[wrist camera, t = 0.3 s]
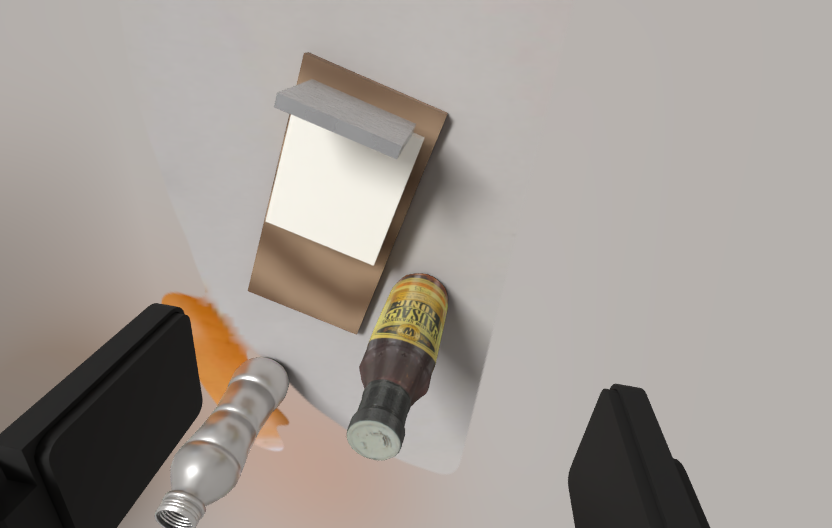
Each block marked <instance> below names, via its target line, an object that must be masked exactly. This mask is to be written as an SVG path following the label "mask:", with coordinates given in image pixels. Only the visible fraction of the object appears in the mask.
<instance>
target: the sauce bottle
mask: <svg viewBox="0 0 832 528" xmlns="http://www.w3.org/2000/svg"><path fill="white" fill-rule="evenodd" d="M447 309H448V297H447V293H446V290H445V287H444V286H443V285H442V284H441V283H440V282H439V281H438V280H437V279H435V278H434V277H433V276H430V275H428V274H422V273H418V274H417V273H416V274H410V275H406V276H405V277H403V278H402V279H401V280H399V281H398V283H397V284H396V285H395V286H394V287H393V289H392V290H391V292H390V295H389V297H388V299H387V301H386V304H385V306H384V308H383V310H382V312H381V315H380V317H379V319H378V322H377V324H376V326H375V328H374V331H373V333H372V336H371V338H370V341H369V343H368V347H367V350H366V352H365V355H364V357H363V360H362V362H361V364H360V366H359V369H360V374H361V380H362V383H363V385H364V388H365V390H364V392H363V395H362V400H361V403H360V405H359V408H358V411H357V412H356V413H355V414H354V416H353V417H352V419H351V421H350V424H349V427H348V430H347V440H348V443H349V444H350V445H351V447H352V449H354V450H355V451H356V452H357V453H358V454H360V455H362V456H364V457H366V458H369V459H373V460H387V459H389V458H392V457H394V456H396V455H397V454H398V453H399V451H400V449H401V447H402V443H403V440H404V436H405V428H404V426H405V421H406V417H407V414H408V412H409V410H410V407H411V406H412V405H413V404H414V403H415V402H416V401H417V400H418V399H419V398H421V397H422V396H424V395H425V394H426V393H427V391H428V388H429V384H430V379H431V375H432V372H433V370H434V367H435V364H436V359H437V355H438V350H439V346H440V341H441V336H442V332H443V328H444V323H445V319H446V314H447Z"/></svg>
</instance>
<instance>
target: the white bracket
mask: <svg viewBox="0 0 832 528" xmlns="http://www.w3.org/2000/svg"><path fill="white" fill-rule="evenodd" d="M274 107H275V108H277V109H280V110H282V111H284V112H287V113H289V114H291V116H290V120H289V124H288V129H287V133H286V137H285V141H284V145H283V150H282V154H281V158H280V162H279V166H278V171H277V175H276V179H275V183H274V187H273V192H272V196H271V200H270V204H269V208H268V213H267V217H266V222H268V223H271V224H273V225H275V226H278V227H280V228H283V229H285V230H288V231H290V232H293V233H295V234H297V235H300V236H302V237H305V238H307V239H310V240H312V241H314V242H317V243H319V244H322V245H324V246H327V247H329V248H332V249H334V250H336V251H339V252H341V253H344V254H346V255H349V256H351V257H353V258H356V259H358V260H361V261H363V262H366V263H368V264H371V265H373V266H374V264H375V261H376V259H377V257H378V254H379V252H380V249H381V246H382V244H383V241H384V239H385V236H386V234H387V231H388V229H389V226H390V224H391V221H392V219H393V216H394V214H395V211H396V209H397V206H398V204H399V201H400V199H401V196H402V194H403V191H404V189H405V186H406V183H407V181H408V178H409V176H410V173H411V171H412V168H413V166H414V163H415V161H416V158H417V156H418V153H419V151H420V148H421V146H422V143H423V141H424V138H425V137H423V136H420V135H418V134H416V133H413V132H414V129H415V126H416V124H415V123H413V122H411V121H408V120H406V119H404V118H401V117H399V116H397V115H394V114H392V113H390V112H387V111H385V110H383V109H380V108H378V107H376V106H373V105H371V104H369V103H366V102H364V101H362V100H360V99H357V98H355V97H353V96H350V95H348V94H346V93H343V92H341V91H339V90H336V89H334V88H332V87H329V86H327V85H325V84H322V83H320V82H318V81H316V80H313V79H311V80H309V81H306V82H304V83H301V84H298V85H296V86H293V87H291V88H288V89H286V90H283V91H281V92H278V93H277V96H276V101H275V105H274Z"/></svg>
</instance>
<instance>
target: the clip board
mask: <svg viewBox="0 0 832 528" xmlns="http://www.w3.org/2000/svg"><path fill="white" fill-rule="evenodd" d="M311 79H313V80H316V81H318V82H320V83H322V84H325V85H327V86H329V87H332V88H334V89H336V90H339V91H341V92H343V93H346V94H348V95H350V96H353V97H355V98H357V99H360V100H362V101H364V102H366V103H369V104H371V105H373V106H376V107H378V108H380V109H383V110H385V111H387V112H390V113H392V114H394V115H397V116H399V117H401V118H404V119H406V120H408V121H411V122H413V123H415V124H416V126H415V129H414V132H413V133H416V134H418V135H420V136H423V137H425V138H424V141H423V143H422V146H421V148H420V151H419V153H418V156H417V158H416V161H415V163H414V166H413V168H412V171H411V173H410V176H409V178H408V181H407V183H406V186H405V189H404V191H403V194H402V196H401V199H400V201H399V204H398V206H397V209H396V211H395V214H394V216H393V219H392V221H391V224H390V226H389V229H388V231H387V234H386V236H385V239H384V241H383V244H382V246H381V249H380V252H379V254H378V257H377V259H376V261H375V264H374V266H373V265H371V264H368V263H366V262H363V261H361V260H358V259H356V258H353V257H351V256H349V255H346V254H344V253H341V252H339V251H336V250H334V249H332V248H329V247H327V246H324V245H322V244H319V243H317V242H314V241H312V240H310V239H307V238H305V237H302V236H300V235H297V234H295V233H293V232H290V231H288V230H285V229H283V228H280V227H278V226H275V225H273V224H271V223H268V222H266V217H267V213H268V208H269V204H270V200H271V196H272V192H273V187H274V183H275V179H276V175H277V171H278V166H279V162H280V158H281V154H282V150H283V145H284V141H285V137H286V133H287V129H288V124H289V120H290V116H291V114H290V115H289V119H288V123H287V127H286V132H285V136H284V140H283V144H282V149H281V153H280V157H279V161H278V165H277V170H276V174H275V178H274V182H273V186H272V191H271V195H270V199H269V203H268V208H267V212H266V216H265V220H264V224H263V229H262V233H261V237H260V241H259V246H258V250H257V254H256V258H255V262H254V267H253V271H252V275H251V279H250V284H249V288H248V291H249V292H252V293H254V294H257V295H259V296H262V297H264V298H267V299H269V300H272V301H274V302H277V303H279V304H282V305H284V306H287V307H289V308H292V309H294V310H297V311H299V312H302V313H304V314H307V315H309V316H312V317H314V318H317V319H319V320H322V321H324V322H327V323H329V324H332V325H334V326H337V327H339V328H342V329H344V330H347V331H349V332H352V333H354V334H357V332H358V330H359V328H360V325H361V323H362V320H363V318H364V315H365V313H366V311H367V308H368V306H369V303H370V301H371V298H372V296H373V294H374V291H375V289H376V286H377V284H378V281H379V279H380V277H381V274H382V272H383V269H384V267H385V264H386V262H387V260H388V257H389V255H390V252H391V250H392V247H393V245H394V243H395V240H396V238H397V235H398V233H399V230H400V228H401V226H402V223H403V221H404V218H405V216H406V213H407V211H408V209H409V206H410V204H411V201H412V199H413V196H414V194H415V191H416V189H417V187H418V184H419V182H420V179H421V177H422V174H423V172H424V170H425V167H426V165H427V162H428V160H429V157H430V155H431V153H432V150H433V148H434V145H435V143H436V140H437V138H438V136H439V133H440V131H441V128H442V126H443V123H444V121H445V119H446V116H447V114H448V113H447V112H444V111H442V110H440V109H437V108H435V107H433V106H430V105H428V104H426V103H424V102H421V101H419V100H417V99H414V98H412V97H410V96H407V95H405V94H403V93H401V92H398V91H396V90H394V89H391V88H389V87H387V86H384V85H382V84H380V83H378V82H375V81H373V80H371V79H368V78H366V77H364V76H362V75H359V74H357V73H355V72H352V71H350V70H348V69H345V68H343V67H341V66H339V65H336V64H334V63H332V62H329V61H327V60H325V59H322V58H320V57H318V56H316V55H313V54H311V53H309V52H307V53H304V56H303V60H302V64H301V68H300V73H299V77H298V81H297V85H298V84H301V83H304V82H306V81H309V80H311Z"/></svg>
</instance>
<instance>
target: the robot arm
mask: <svg viewBox="0 0 832 528" xmlns="http://www.w3.org/2000/svg"><path fill="white" fill-rule="evenodd" d="M201 407H202V393H201V387H200V380H199V374H198V367H197V361H196V354H195V348H194V342H193V335H192V329H191V322H190V318H189V317H188V315H185V314H184V311H183V310H182V308H180V307H175V306H170V305H164V304H158V303H154V304H152V305H150V306H148V307H147V308H146V309H145V310H144V311H143V312H141V313H140V314H139V315H138V316H137V317H136V318H135V319H133V320H132V321H131V322H130V323H129V324H127V325H126V326H125V327H124V328H123V329H122V330H120V331H119V332H118V333H117V334H116V335H115V336H114V337H112V338H111V339H110V340H109V341H108V342H107V343H105V344H104V345H103V346H102V347H101V348H100V349H98V350H97V351H96V352H95V353H94V354H93V355H92V356H90V357H89V358H88V359H87V360H86V361H84V362H83V363H82V364H81V365H80V366H79V367H77V368H76V369H75V370H74V371H73V372H72V373H70V374H69V375H68V376H67V377H66V378H65V379H64V380H62V381H61V382H60V383H59V384H58V385H56V386H55V387H54V388H53V389H52V390H51V391H49V392H48V393H47V394H46V395H45V396H44V397H42V398H41V399H40V400H39V401H38V402H37V403H35V404H34V405H33V406H32V407H31V408H30V409H28V410H27V411H26V412H25V413H24V414H23V415H21V416H20V417H19V418H18V419H17V420H16V421H14V422H13V423H12V424H11V425H10V426H9V427H7V428H6V429H5V430H4V431H3V432H2V433H1V434H0V528H117V527H118V525H119V524H120V522H121V521H122V520H123V518H124V517H125V516H126V514H127V513H128V511H129V510H130V509H131V507H132V506H133V505H134V503H135V502H136V500H137V499H138V498H139V496H140V495H141V494H142V492H143V491H144V489H145V488H146V487H147V485H148V484H149V482H150V481H151V480H152V478H153V477H154V476H155V474H156V473H157V472H158V470H159V469H160V467H161V466H162V465H163V463H164V462H165V460H166V459H167V458H168V456H169V455H170V453H171V452H172V451H173V449H174V448H175V447H176V445H177V444H178V443H179V441H180V440H181V438H182V437H183V436H184V434H185V433H186V431H187V430H188V429H189V427H190V426H191V425H192V423H193V422H194V421H195V419H196V418H197V416H198V415H199V413H200V410H201ZM568 486H569V493H570V499H571V505H572V511H573V517H574V523H575V528H710V526H709V524H708V522H707V519H706V517H705V515H704V512H703V510H702V508H701V506H700V503H699V501H698V498H697V496H696V494H695V491H694V489H693V487H692V484H691V482H690V480H689V477H688V475H687V473H686V471H685V469H684V467H683V465H682V464H681V463H680V462H679V461H678V460H677V459H673V457H672V455H671V453H670V450H669V448H668V445H667V443H666V440H665V438H664V436H663V433H662V431H661V428H660V426H659V424H658V421H657V419H656V416H655V414H654V412H653V409H652V407H651V404H650V402H649V399H648V397H647V394H646V393H645V391H644V390H643V389H642V388H637V387H632V386H626V385H620V384H613V385H612V386H611V388H610V390H609V389H603V390H602V392H601V394H600V396H599V399H598V401H597V404H596V406H595V408H594V411H593V413H592V416H591V418H590V421H589V423H588V426H587V428H586V431H585V433H584V436H583V438H582V441H581V443H580V445H579V448H578V450H577V453H576V455H575V458H574V460H573V463H572V465H571V468H570V471H569V477H568Z"/></svg>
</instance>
